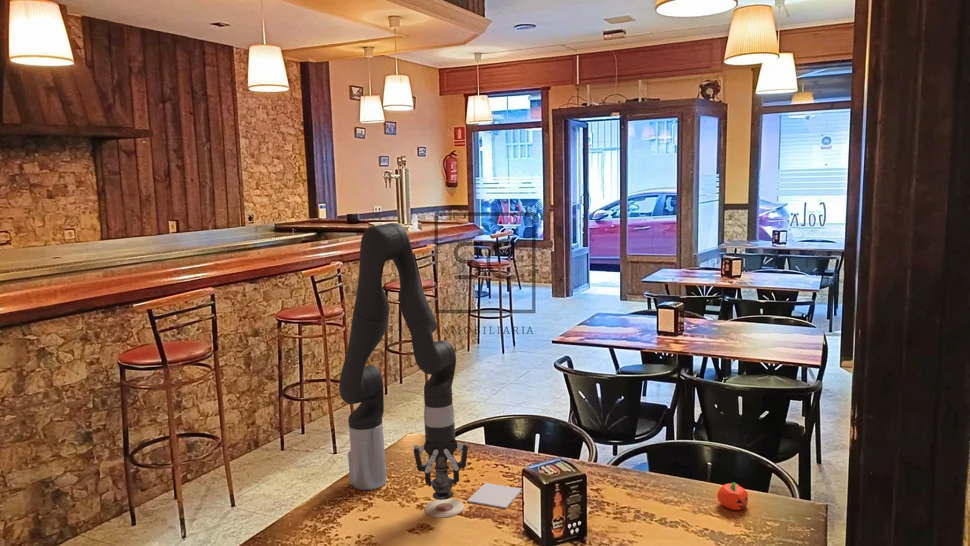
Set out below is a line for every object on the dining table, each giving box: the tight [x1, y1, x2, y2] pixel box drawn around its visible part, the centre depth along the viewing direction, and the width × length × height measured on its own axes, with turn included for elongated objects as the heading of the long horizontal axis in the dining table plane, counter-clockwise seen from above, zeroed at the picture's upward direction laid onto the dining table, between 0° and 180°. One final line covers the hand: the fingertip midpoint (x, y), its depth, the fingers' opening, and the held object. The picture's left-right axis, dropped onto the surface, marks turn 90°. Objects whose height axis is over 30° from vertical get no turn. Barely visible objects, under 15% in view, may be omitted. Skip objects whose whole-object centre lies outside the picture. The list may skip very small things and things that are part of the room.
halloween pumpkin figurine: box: [716, 481, 749, 511], centre depth 165 cm, size 7×8×6 cm
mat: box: [466, 482, 522, 509], centre depth 177 cm, size 11×11×1 cm
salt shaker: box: [431, 457, 454, 500], centre depth 171 cm, size 6×6×12 cm
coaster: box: [424, 498, 465, 519], centre depth 172 cm, size 10×10×1 cm
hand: (442, 484), depth 171 cm, fingers closed on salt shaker, 6 cm apart
